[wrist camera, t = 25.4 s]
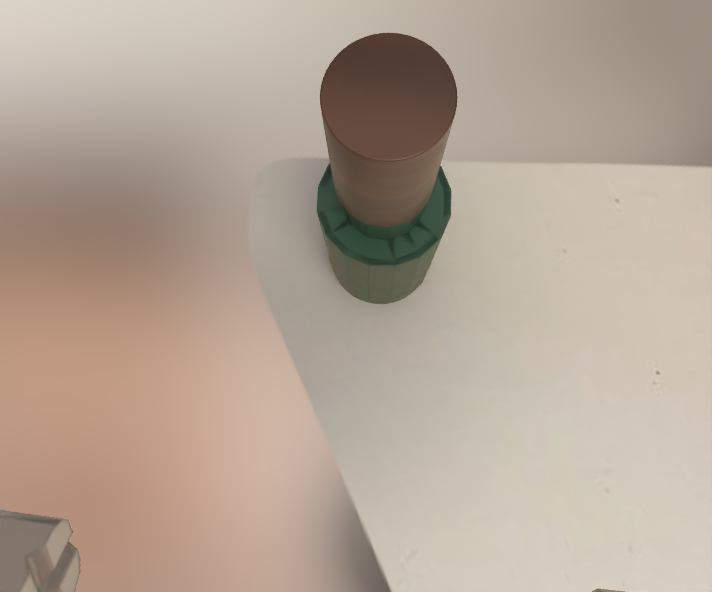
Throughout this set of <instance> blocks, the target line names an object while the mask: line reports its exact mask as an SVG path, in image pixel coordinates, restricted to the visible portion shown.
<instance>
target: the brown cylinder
mask: <svg viewBox="0 0 712 592" xmlns="http://www.w3.org/2000/svg"><path fill="white" fill-rule="evenodd" d="M320 105H321V110H322V117H323V123H324V129H325V135H326V141H327V147H328V153H329V159H330V165H331V171H332V177H333V183H334V189H335V193H336V196H337V198H338V200H339V202H340V203H341V205H342V206H343V208H344V209H345V210H346V211H347V212H348V213H349V214H350V215H351V216H353V217H354V218H355V219H357V220H359V221H361V222H363V223H365V224H368V225H372V226H377V227H390V226H396V225H399V224H403V223H405V222H407V221H409V220H411V219H412V218H414V217H415V216H416V215H418V214H419V213H420V212H421V211H422V210H423V209H424V207H425V206H426V204H427V203H428V201H429V199H430V197H431V194H432V192H433V188H434V185H435V181H436V178H437V174H438V171H439V168H440V164H441V161H442V157H443V153H444V150H445V147H446V143H447V139H448V136H449V133H450V129H451V126H452V122H453V119H454V115H455V111H456V107H457V89H456V83H455V80H454V77H453V74H452V72H451V70H450V68H449V66H448V64H447V63H446V62H445V60H444V59H443V58H442V57H441V56H440V54H439V53H438V52H437V51H435V50H434V49H433V48H432V47H431V46H429V45H428V44H426V43H425V42H423V41H421V40H419V39H417V38H414V37H411V36H408V35H403V34H398V33H380V34H374V35H370V36H367V37H364V38H361V39H359V40H357V41H355V42H353V43H351V44H350V45H348V46H347V47H346V48H344V49H343V50H342V51H341V52H340V53H339V54H338V55H337V56H336V57H335V58H334V60H333V61H332V62H331V63H330V65H329V67H328V69H327V70H326V73H325V75H324V78H323V81H322V85H321V91H320Z"/></svg>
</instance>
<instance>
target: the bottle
mask: <svg viewBox="0 0 712 592" xmlns="http://www.w3.org/2000/svg"><path fill="white" fill-rule="evenodd" d="M317 213H318V217H319V221H320V224H321V228H322V232H323V235H324V239H325V242H326V246H327V250H328V253H329V257H330V261H331V264H332V266H333V269H334V272H335V275H336V277H337V279H338V281H339V282H340V283H341V285H342V286H343V287H344V288H345V289H346V290H347V291H348V292H349V293H350V294H352V295H353V296H355V297H356V298H358V299H360V300H363V301H366V302H370V303H376V304H386V303H392V302H395V301H398V300H401V299H403V298H405V297H406V296H408V295H410V294H411V293H412V292H413V291H415V289H416V288H417V287H418V286H419V285H420V284H421V283H422V282H423V280H424V277H425V275H426V273H427V271H428V268H429V266H430V264H431V262H432V259H433V257H434V254H435V252H436V250H437V247H438V245H439V243H440V240H441V238H442V235H443V233H444V231H445V228H446V226H447V224H448V221H449V219H450V216H451V189H450V186H449V184H448V181H447V179H446V176H445V174H444V172H443V169H442V167H441V166H440V168H439V171H438V174H437V178H436V181H435V185H434V188H433V192H432V194H431V197H430V199H429V201H428V203H427V204H426V206H425V207H424V209H423V210H422V211H421V212H420V213H419V214H418V215H416V216H415V217H414V218H412V219H411V220H409V221H407V222H405V223H403V224H399V225H396V226H390V227H377V226H372V225H368V224H365V223H363V222H361V221H359V220H357V219H355V218H354V217H353V216H351V215H350V214H349V213H348V212H347V211H346V210H345V209H344V208H343V206H342V205H341V203H340V202H339V200H338V198H337V196H336V193H335V189H334V183H333V177H332V171H331V165H330V164H329V165H328V167H327V169H326V171H325V173H324V175H323V177H322V180H321V182H320V184H319V187H318V201H317Z"/></svg>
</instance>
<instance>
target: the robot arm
mask: <svg viewBox="0 0 712 592" xmlns="http://www.w3.org/2000/svg"><path fill="white" fill-rule="evenodd" d="M72 533H73V531H72V528H71V525H70V523H69V520H68V519H62V518H55V517H47V516H39V515H31V514H24V513H17V512H9V511H5V510H0V592H75V590H76V586H77V582H78V578H79V574H80V556H79V552H78V549H77V548H76V547H75V546H74V545H72V544H71V543H70V542H69V539H70V537H71V535H72ZM592 592H624V591H615V590H606V589H596V590H594V591H592Z"/></svg>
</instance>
